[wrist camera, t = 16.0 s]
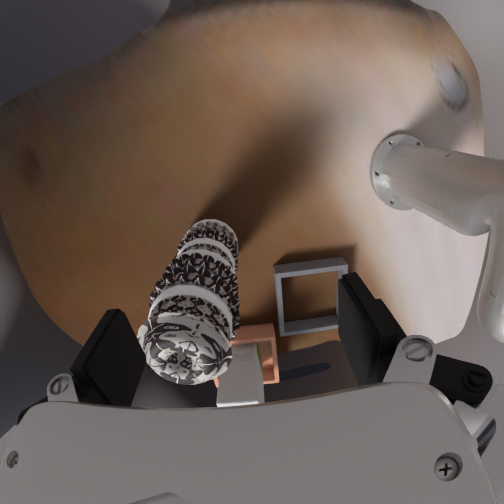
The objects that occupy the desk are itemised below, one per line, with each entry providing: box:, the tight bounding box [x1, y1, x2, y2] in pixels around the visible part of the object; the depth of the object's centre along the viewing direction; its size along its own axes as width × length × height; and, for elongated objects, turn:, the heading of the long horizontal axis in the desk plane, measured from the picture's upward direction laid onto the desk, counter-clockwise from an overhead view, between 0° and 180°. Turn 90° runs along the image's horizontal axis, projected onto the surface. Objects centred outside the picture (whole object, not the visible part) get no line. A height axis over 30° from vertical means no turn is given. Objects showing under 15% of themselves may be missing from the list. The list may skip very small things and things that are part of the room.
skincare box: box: [216, 342, 264, 407], centre depth 44 cm, size 8×7×16 cm
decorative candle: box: [137, 219, 240, 385], centre depth 31 cm, size 9×9×25 cm
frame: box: [273, 257, 348, 337], centre depth 45 cm, size 12×13×3 cm
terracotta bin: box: [214, 322, 279, 388], centre depth 50 cm, size 13×13×4 cm
